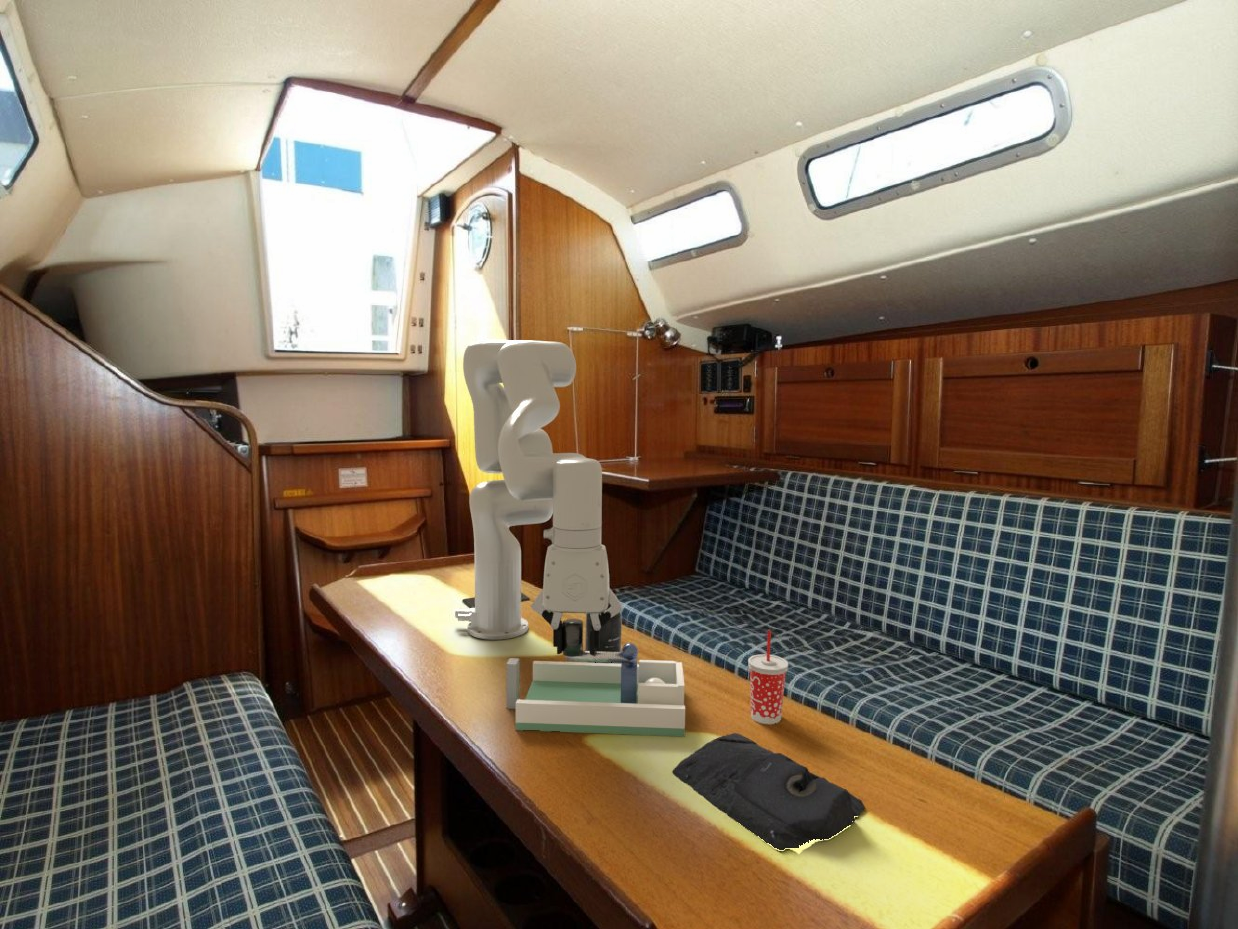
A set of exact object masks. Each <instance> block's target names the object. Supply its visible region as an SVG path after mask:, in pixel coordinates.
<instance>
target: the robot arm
mask: <svg viewBox="0 0 1238 929" xmlns="http://www.w3.org/2000/svg"><path fill="white" fill-rule="evenodd" d="M462 370H463V371H462V372H463V376H464V381H465V384H466V386H467V390H468V392H469V396H470V398H471V399H470V400H471V403H472V408H473V410H472V411H473V426H474V428H473V429H474V430H473V432H474V433H473V434H474V452H475V461H476V466H477V468H478V469H479V470H480V471H481V472H483V473H486V474H497V475H498V474H502V476H503V479H497V480H495V479H494V480H488V481H483V482H481V483H479V484H478V483H477V485H475V486H474V487H473V488H472V489H471V491H470V494H469V500H468V502H469V510H470V514H471V515H470V517H471V521H472V528H473V530H472V531H473V541H474V542H473V544H474V545H473V546H474V550H473V551H474V597H475V608H471V609H470V608H469V609H466V608H456V609H455V613H454V617H455V619H457V621H458V622H465V621H466V622H469V623H468V624H467V633H468V634H469V635H470V636H472V637H474V638H476V639H480V640H489V641H490V640H491V641H493V640H495V641H497V640H508V639H512V638H516V637H520V636H522V635H523V634H525V633H526V632H528V630H529V622H528V620H527V619H526V618H523V617H522V602H521V593H522V550H521V544H520V542H519V540H518V539H517V538H516V537H515V535H514V534H513V533H512V532H511V531H510V527H512V526H513V527H515V526H523V525H534V524H542V523H545V522H547V521H549V520H550V519H551V518H552V526H551V528H548V529H544V530H543V539H548V540H550V542H551V544H550V545H549V546H547V550H546V555H545V561H544V569H543V570H544V571H543V585H542V590H541V591H540V592H539V594H538V595H537V596H536V597H535V599H534V601H532V603H531V605H530V608H531V609H532V610H533V611H534V612H536V613H537V614H538V615H540V616H542V618H543V619H544V620H545V621H546V622H547V623H548V625H549V626H550V628H551V629H552V635H553V636H552V647H554V648H556V655H561V654H563V621H562V617H563V613H564V614H586V613H590V616H591V620H592V626H591V629H590V654H591V655H594V654H595V649H596V648H599V647H600V628H601V627H602V626H603V625H604V624H605V623H606V622H607V621H608V620H609V619H610V618H611V617H613V616H615V615H616V614H618V613H619V612H621V611H623V604H622V602H621V601H620V600H619V599H618V596H617V595H616V594H615V593H614V592H613V590H612V589H611V588H610V573H609V571H610V570H609V560H608V559H609V558H608V554H607V548H606V546H605V545H604V544H602V526H603V525H602V524H603V522H602V517H603V516H602V510H603V509H602V506H603V503H602V502H603V501H602V498H603V497H602V496H603V492H602V491H603V470H602V465H601V462H599V461H598V460H597V459H595V458H591V457H590V458H587V457H586V456H585V455H583V454H581V453H576V452H562V453H561V452H559V453H558V452H557V453H555V452H553V451H554V450H553V444H552V441H551V439H550V436H549V435H548V434H549V433H547V432H546V431H545V430H544V429H542V428H544V427H545V426H547V425H549V424H550V423H552V422H553V421H554V420H555V418H557V416H558V414H559V413H560V409H561V408H560V407H561V404H560V403H561V402H560V400H559V399H560V398H558V394H557V392H556V390H555V388H566V387H567V386H570V385H571V384H572V383H573V381H574V379H575V376H576V373H577V363H576V358H575V355H574V353H573V351H572V350H571V348H570V347H569V346H568V345H567V344H566V343H563V342H560V341H544V340H529V339H528V340H526V339H525V340H523V339H522V340H521V339H519V340H510V339H509V340H508V339H481V340H477V341H476V340H475V341H473V342H471V343H470V344H468V345H467V347H466V348H465V350H464V353H463V362H462ZM615 595H616V596H617V597H616V596H615ZM609 603H610V605H611V607H610V608H609V609H607V607H608V604H609ZM606 609H607V610H606ZM601 612H603V613H602V614H600V613H601Z"/></svg>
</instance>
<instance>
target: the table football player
mask: <svg viewBox="0 0 1238 929" xmlns="http://www.w3.org/2000/svg"><path fill="white" fill-rule="evenodd" d="M562 623H563V651H562V655H563V656H564V657H565V662H585V663H595V662H612V663H616V664H622V665H621V703H632V704H636V699H637V664H638V655H639V650H638V647H637V645H636V644H634V643H632V642H629V643H625V644H624V645H623V646H621V652H599V651H595V654H594V655H591V654H590V651H585V650H583V649H584V621H583V620H582V619H579V618H567V619H565V620H563V621H562Z"/></svg>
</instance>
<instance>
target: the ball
mask: <svg viewBox="0 0 1238 929" xmlns="http://www.w3.org/2000/svg"><path fill="white" fill-rule="evenodd" d="M645 683H660V684H665V683H664V681H662V680H661V679H659V678H650V679H648V680H647V681H646V682H645Z"/></svg>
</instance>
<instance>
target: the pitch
mask: <svg viewBox="0 0 1238 929" xmlns="http://www.w3.org/2000/svg"><path fill="white" fill-rule="evenodd" d="M621 665H622V663H614V662H612V663H595V662H583V661H554V660H553V661H549V660H533V662H532V682H531V683H530V686H529V689H528V691H527V694H526V696H525V698H524V699H520V658H518V657H517V658H513V657H512V658H511V657H510V658H508V661H507V662H506V667H505V668H506V672H505V673H506V682H505V683H506V689H505V690H506V693H505V694H506V709H508V710H509V709H510V710H511V709H512V710H514V709H515V731H523V730H540V731H539V732H551V731H560V732H559V733H577V734H578V733H582V734H608V735H609V734H610V735H611V734H612V735H635V736H637V735H638V736H662V737H666V736H667V737H685V736H686V734H685V732H686V705H685V678H684V670H683V662H681V661H680V662H678V661H676V660H658V659H657V660H656V659H655V660H654V659H638V663H637V699H636V704H632V703H621ZM650 678H659V679H661V680H662V681H664V683H665V684H660V683H645V682H646V681H647V680H648V679H650ZM543 730H544V731H543Z"/></svg>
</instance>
